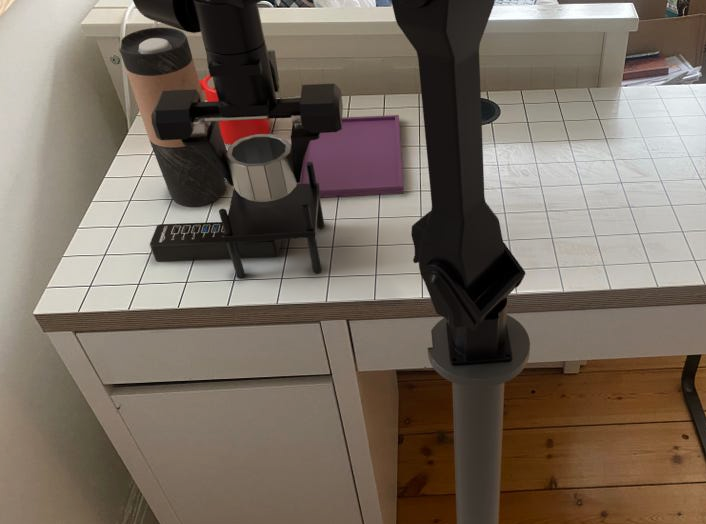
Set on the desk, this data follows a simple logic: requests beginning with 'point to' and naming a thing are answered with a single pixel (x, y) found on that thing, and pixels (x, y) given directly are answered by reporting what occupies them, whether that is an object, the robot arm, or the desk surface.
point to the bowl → (262, 167)
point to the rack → (275, 220)
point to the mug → (234, 128)
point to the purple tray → (357, 158)
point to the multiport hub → (203, 243)
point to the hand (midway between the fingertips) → (266, 182)
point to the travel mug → (148, 83)
